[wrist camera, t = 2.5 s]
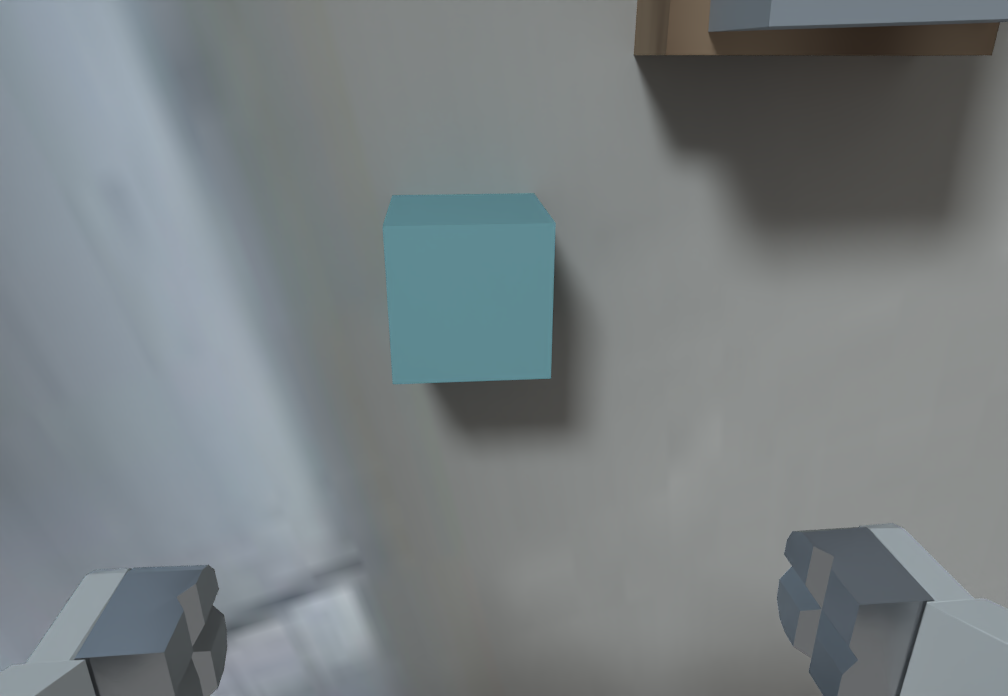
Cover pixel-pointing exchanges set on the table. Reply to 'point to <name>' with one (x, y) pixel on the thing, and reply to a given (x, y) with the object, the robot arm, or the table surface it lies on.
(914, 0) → the grey top block
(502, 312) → the teal cube
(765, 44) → the walnut base block
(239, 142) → the table surface
